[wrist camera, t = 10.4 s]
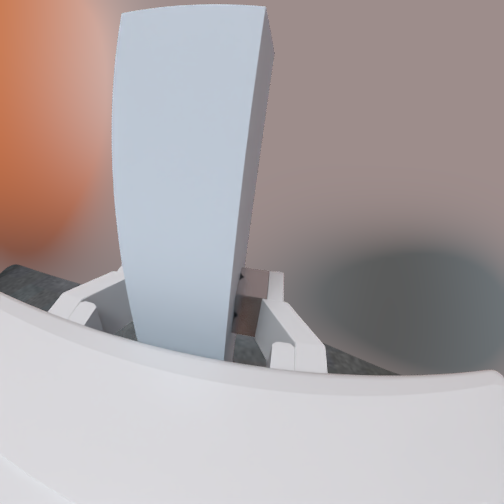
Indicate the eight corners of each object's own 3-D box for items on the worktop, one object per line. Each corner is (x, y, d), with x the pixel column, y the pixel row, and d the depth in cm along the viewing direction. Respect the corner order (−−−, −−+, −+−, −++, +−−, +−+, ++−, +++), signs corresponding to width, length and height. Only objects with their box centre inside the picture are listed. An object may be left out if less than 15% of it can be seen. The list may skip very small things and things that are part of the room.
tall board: (227, 395, 18) (274, 53, 8) (215, 464, 14) (265, 6, 3) (193, 388, 18) (201, 47, 8) (176, 455, 14) (121, 13, 3)
